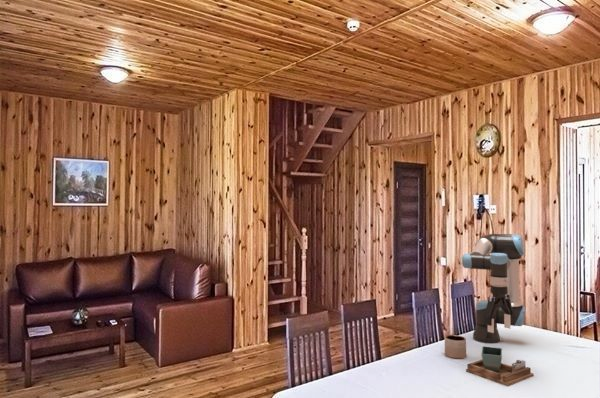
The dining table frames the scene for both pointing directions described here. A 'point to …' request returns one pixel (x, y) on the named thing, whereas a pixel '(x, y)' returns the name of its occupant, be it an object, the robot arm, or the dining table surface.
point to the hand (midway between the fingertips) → (499, 330)
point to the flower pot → (491, 358)
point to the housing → (499, 373)
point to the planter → (455, 346)
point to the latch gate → (518, 365)
